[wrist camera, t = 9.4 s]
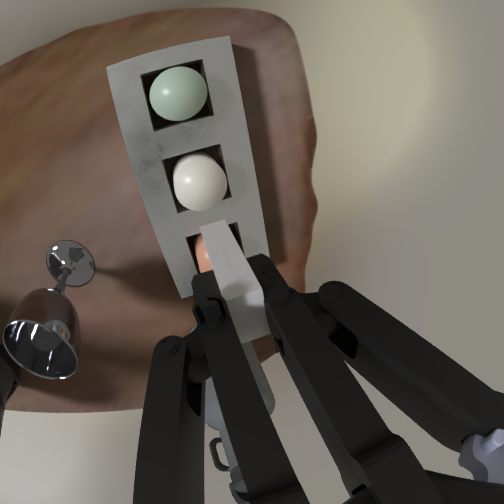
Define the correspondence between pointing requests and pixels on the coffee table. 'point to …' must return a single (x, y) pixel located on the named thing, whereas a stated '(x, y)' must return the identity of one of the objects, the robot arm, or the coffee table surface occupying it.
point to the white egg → (198, 181)
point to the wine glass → (50, 317)
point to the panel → (186, 140)
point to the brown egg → (201, 253)
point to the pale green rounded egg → (178, 93)
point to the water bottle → (217, 422)
